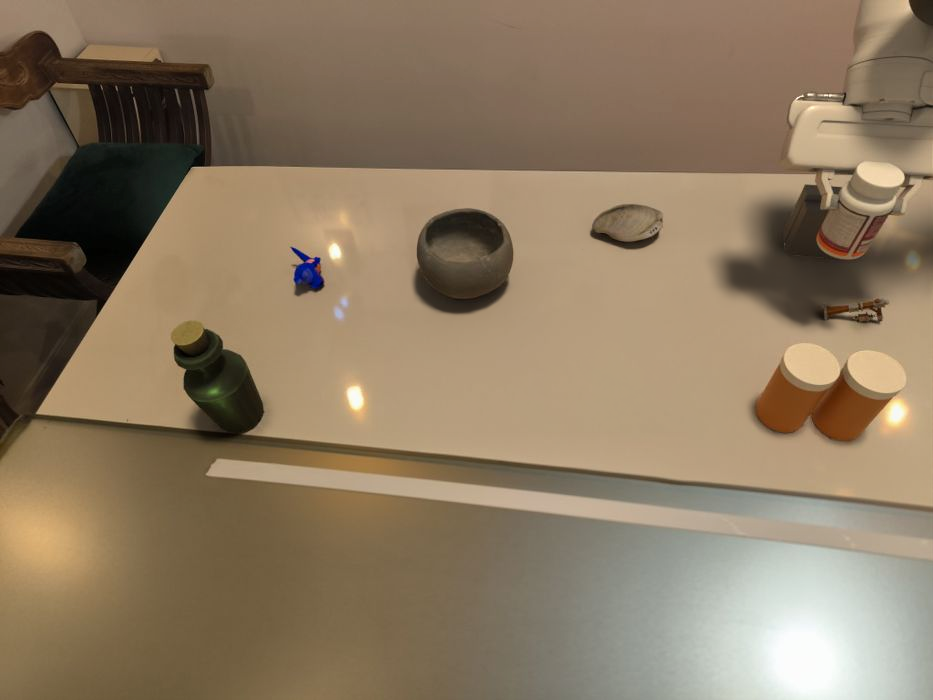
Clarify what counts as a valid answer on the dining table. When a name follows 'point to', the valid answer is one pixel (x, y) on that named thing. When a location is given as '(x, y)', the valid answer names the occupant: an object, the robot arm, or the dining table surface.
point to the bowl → (465, 252)
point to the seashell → (629, 222)
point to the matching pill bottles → (829, 390)
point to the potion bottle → (216, 378)
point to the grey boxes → (806, 224)
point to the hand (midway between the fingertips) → (861, 212)
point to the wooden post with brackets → (856, 307)
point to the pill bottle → (860, 210)
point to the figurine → (308, 270)
